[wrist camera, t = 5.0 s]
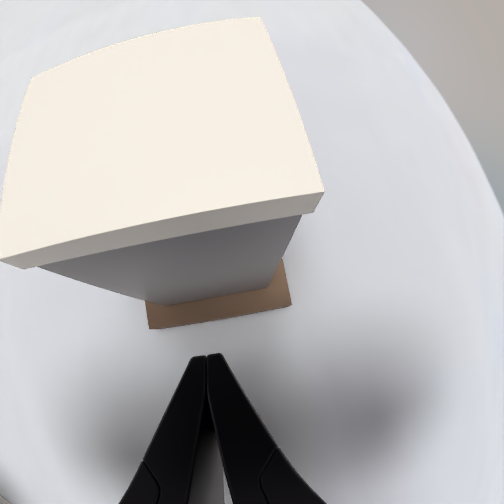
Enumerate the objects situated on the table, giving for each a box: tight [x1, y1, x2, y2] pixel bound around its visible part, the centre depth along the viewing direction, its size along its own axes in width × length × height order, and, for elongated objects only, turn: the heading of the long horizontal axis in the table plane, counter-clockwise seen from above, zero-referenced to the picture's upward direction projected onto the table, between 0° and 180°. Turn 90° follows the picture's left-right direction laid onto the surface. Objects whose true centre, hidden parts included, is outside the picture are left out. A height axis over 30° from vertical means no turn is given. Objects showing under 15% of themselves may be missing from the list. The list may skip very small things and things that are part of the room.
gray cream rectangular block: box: [0, 17, 325, 306], centre depth 10 cm, size 4×5×11 cm
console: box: [145, 259, 292, 329], centre depth 15 cm, size 11×7×4 cm, turn 11°
